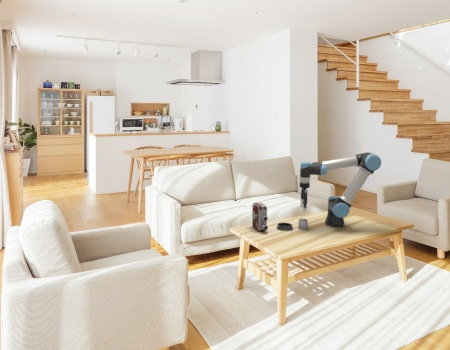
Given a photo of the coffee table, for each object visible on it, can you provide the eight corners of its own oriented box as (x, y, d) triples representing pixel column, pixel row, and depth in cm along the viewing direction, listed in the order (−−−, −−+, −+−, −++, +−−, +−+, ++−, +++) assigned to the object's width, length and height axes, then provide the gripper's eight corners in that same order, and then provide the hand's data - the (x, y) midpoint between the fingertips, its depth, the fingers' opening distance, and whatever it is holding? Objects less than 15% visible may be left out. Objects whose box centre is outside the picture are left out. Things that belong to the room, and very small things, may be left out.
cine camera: (259, 234, 291) (259, 208, 287) (250, 226, 309) (250, 201, 306) (270, 233, 293) (271, 207, 290) (261, 225, 312) (262, 201, 308)
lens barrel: (292, 226, 311) (292, 222, 310) (294, 231, 298) (294, 227, 298) (275, 225, 312) (275, 222, 311) (276, 230, 299) (277, 227, 298)
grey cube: (306, 227, 308) (307, 218, 307) (308, 230, 301) (308, 221, 300) (297, 227, 309) (298, 218, 307) (298, 230, 302) (299, 220, 300)
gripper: (297, 179, 311) (296, 205, 315) (301, 185, 287) (300, 213, 290) (307, 179, 311) (306, 205, 314) (312, 185, 286) (310, 213, 290)
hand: (303, 209), depth 302 cm, fingers open, 13 cm apart
